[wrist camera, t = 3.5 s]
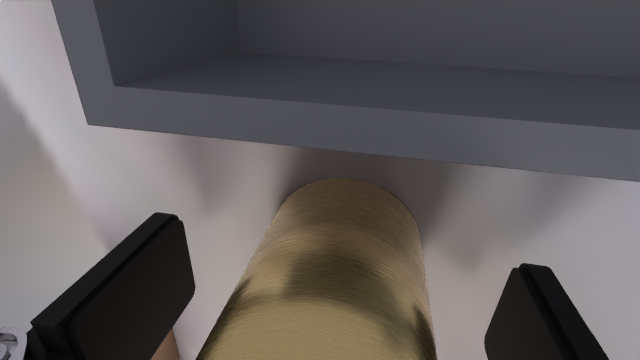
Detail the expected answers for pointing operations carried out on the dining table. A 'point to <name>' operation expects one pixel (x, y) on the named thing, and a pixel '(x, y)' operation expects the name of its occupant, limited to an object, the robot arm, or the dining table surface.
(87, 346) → the robot arm
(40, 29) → the dining table surface
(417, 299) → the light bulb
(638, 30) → the box
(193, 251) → the dining table surface
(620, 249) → the dining table surface
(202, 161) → the dining table surface
